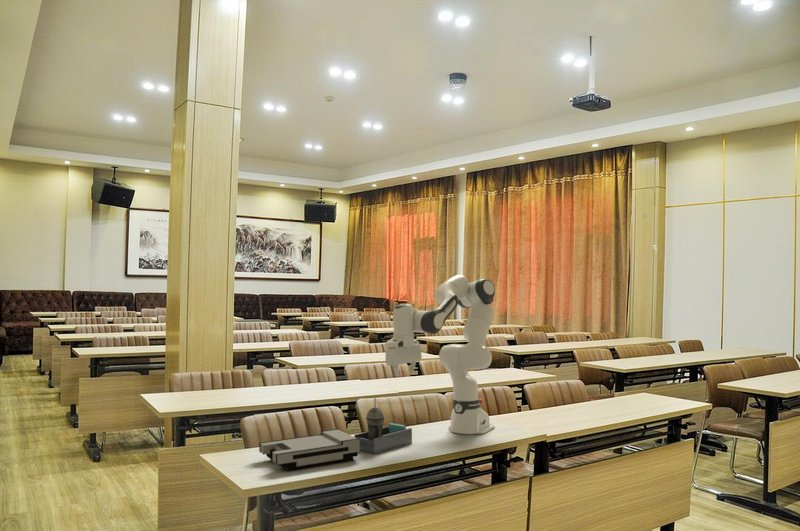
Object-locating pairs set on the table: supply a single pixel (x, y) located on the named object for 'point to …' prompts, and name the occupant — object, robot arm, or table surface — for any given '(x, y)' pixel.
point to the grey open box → (384, 440)
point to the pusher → (396, 427)
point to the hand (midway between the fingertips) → (404, 373)
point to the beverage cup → (375, 421)
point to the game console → (312, 450)
